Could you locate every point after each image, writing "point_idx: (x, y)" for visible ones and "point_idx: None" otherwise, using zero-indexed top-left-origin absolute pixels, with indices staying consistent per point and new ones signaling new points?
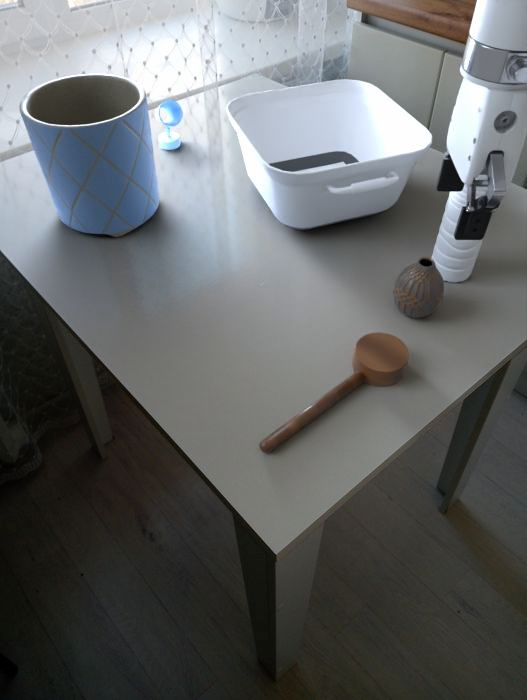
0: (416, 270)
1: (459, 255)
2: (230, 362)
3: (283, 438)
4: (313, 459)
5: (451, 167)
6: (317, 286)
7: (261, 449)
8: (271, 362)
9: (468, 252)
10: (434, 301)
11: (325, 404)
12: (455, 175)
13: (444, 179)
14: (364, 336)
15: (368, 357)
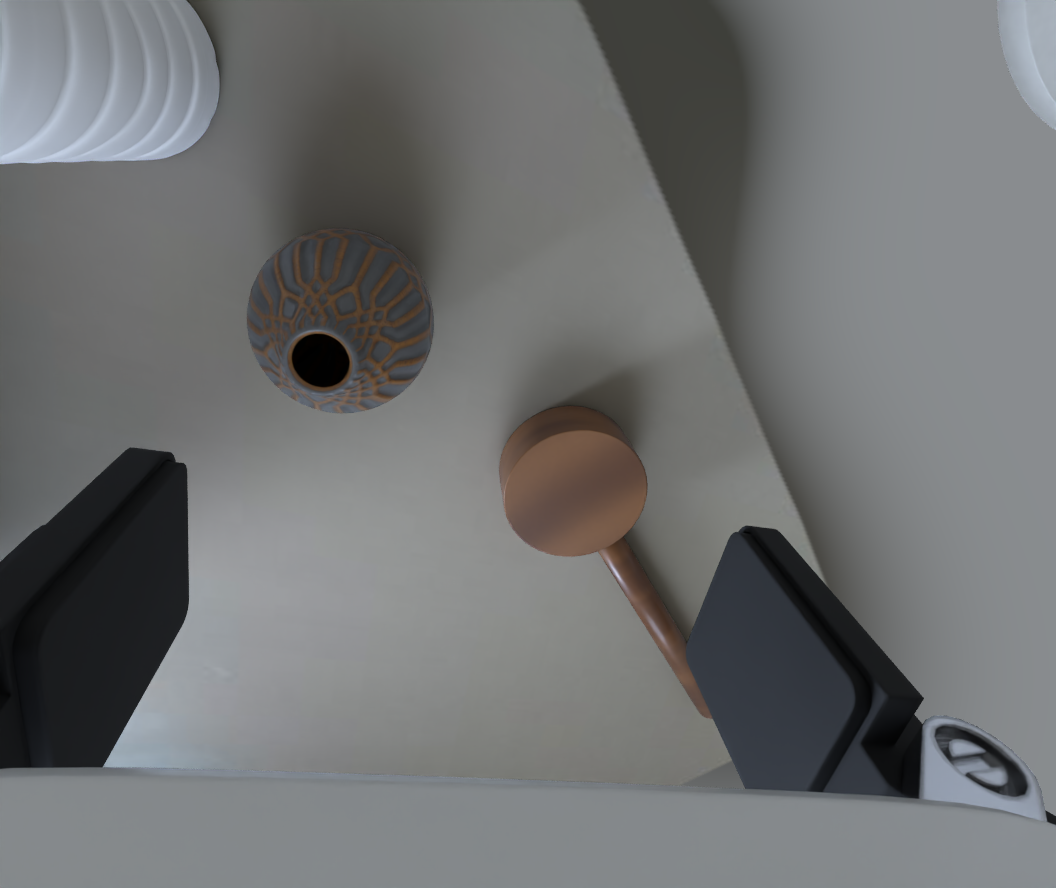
0: (346, 395)
1: (163, 90)
2: (485, 737)
3: None
4: None
5: (84, 744)
6: (233, 548)
7: None
8: (501, 672)
9: (153, 42)
10: (427, 301)
11: (664, 615)
12: (122, 628)
13: (144, 668)
14: (514, 524)
15: (588, 531)
